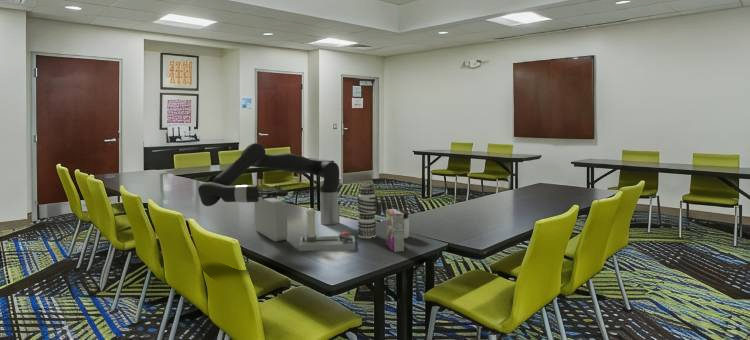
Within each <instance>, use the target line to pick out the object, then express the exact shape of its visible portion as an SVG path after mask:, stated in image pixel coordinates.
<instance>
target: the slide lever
mask: <svg viewBox="0 0 750 340" xmlns="http://www.w3.org/2000/svg"><path fill="white" fill-rule="evenodd" d="M306 214H307V215H306V216H307V217H306V218H307V236H306V237H307V241H316V237H317V234H316V218H315V217H316V210H315V209H314V208H312V207H311V208H310V207H309V208H308V209H306Z"/></svg>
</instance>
